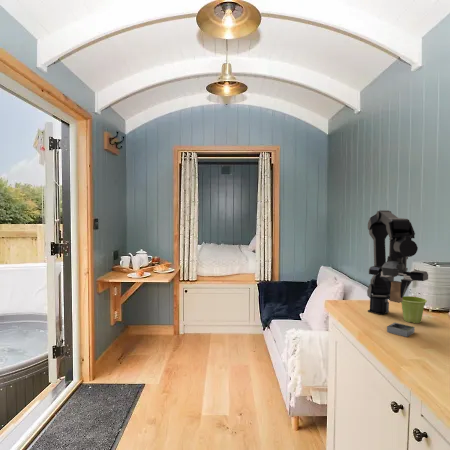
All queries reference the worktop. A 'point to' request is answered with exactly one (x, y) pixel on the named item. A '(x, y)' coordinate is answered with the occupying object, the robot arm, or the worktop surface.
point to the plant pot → (413, 308)
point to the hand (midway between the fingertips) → (396, 296)
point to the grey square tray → (400, 329)
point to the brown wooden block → (396, 292)
